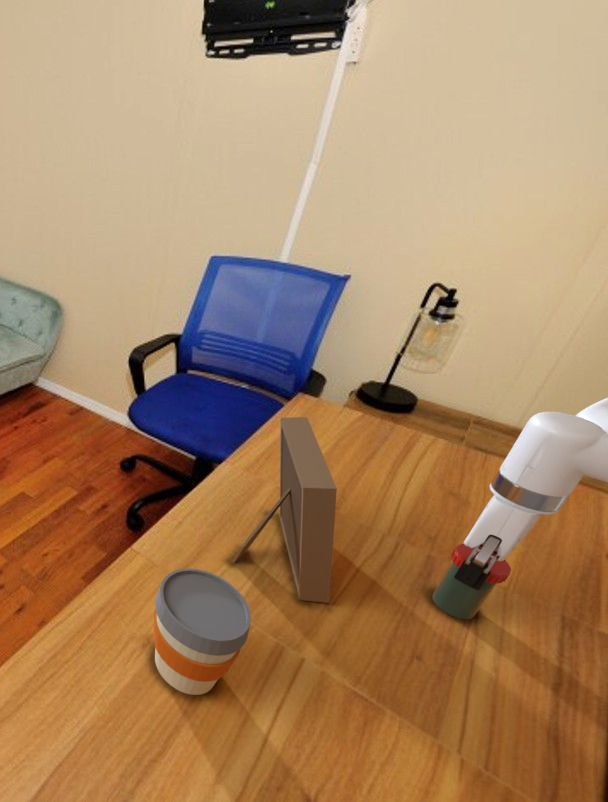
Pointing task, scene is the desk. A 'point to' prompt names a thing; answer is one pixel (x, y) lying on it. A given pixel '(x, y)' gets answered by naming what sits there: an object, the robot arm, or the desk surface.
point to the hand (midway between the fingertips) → (474, 572)
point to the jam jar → (460, 595)
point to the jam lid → (498, 569)
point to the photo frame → (304, 510)
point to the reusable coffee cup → (198, 629)
